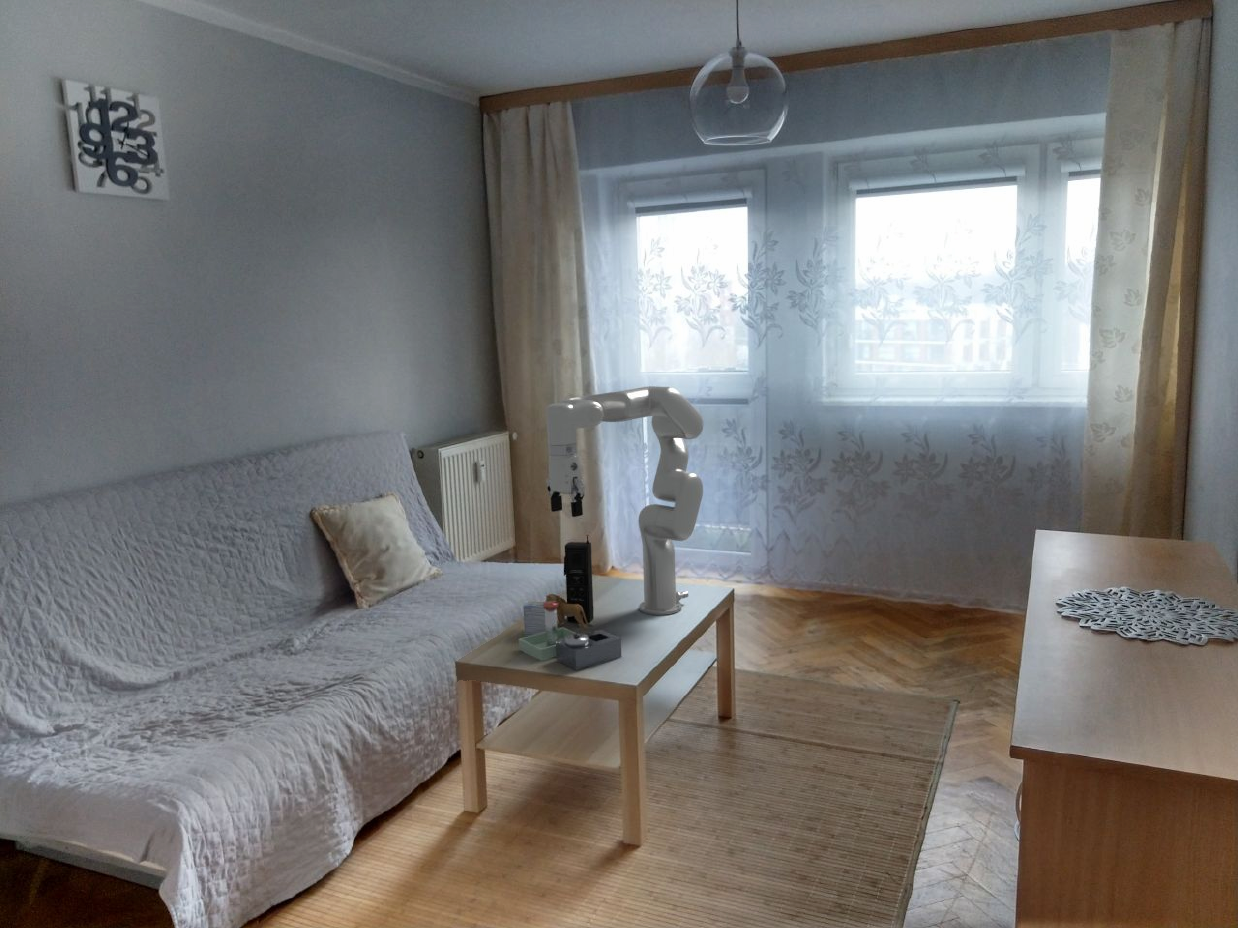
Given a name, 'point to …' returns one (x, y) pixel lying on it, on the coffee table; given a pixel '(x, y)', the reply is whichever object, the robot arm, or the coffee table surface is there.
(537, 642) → the tray
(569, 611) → the lion figurine
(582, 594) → the portable radio
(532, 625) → the medicine box
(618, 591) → the coffee table surface
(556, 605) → the pin
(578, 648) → the block
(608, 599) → the coffee table surface
